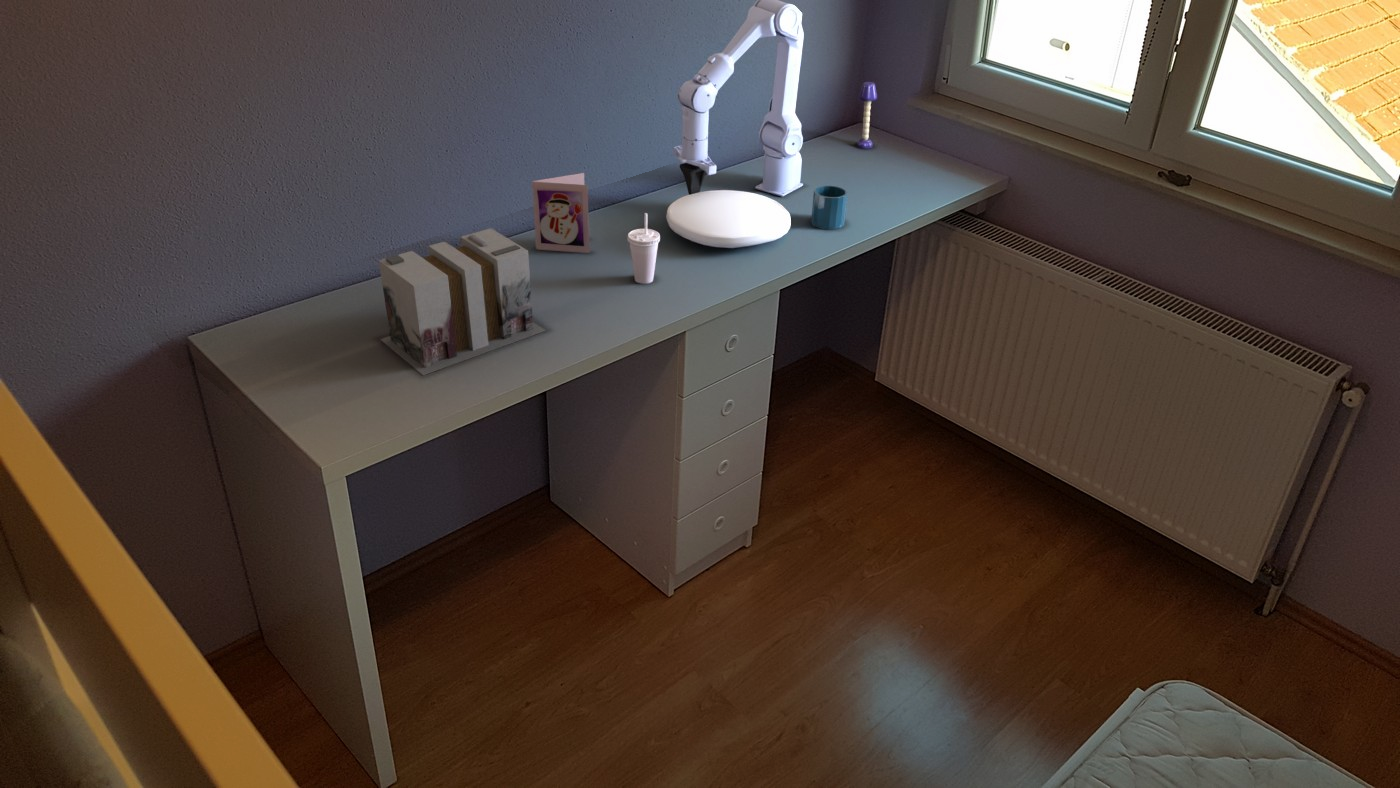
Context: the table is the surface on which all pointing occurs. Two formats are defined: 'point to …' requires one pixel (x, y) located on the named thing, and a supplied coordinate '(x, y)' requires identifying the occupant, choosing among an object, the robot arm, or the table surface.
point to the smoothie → (643, 252)
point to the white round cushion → (728, 218)
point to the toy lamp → (866, 112)
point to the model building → (457, 300)
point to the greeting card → (561, 214)
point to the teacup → (829, 207)
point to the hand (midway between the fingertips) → (693, 194)
